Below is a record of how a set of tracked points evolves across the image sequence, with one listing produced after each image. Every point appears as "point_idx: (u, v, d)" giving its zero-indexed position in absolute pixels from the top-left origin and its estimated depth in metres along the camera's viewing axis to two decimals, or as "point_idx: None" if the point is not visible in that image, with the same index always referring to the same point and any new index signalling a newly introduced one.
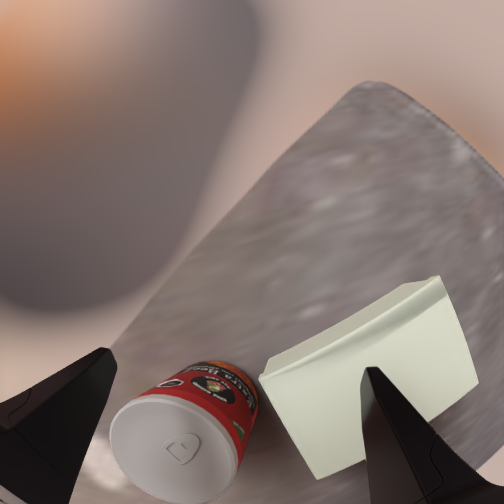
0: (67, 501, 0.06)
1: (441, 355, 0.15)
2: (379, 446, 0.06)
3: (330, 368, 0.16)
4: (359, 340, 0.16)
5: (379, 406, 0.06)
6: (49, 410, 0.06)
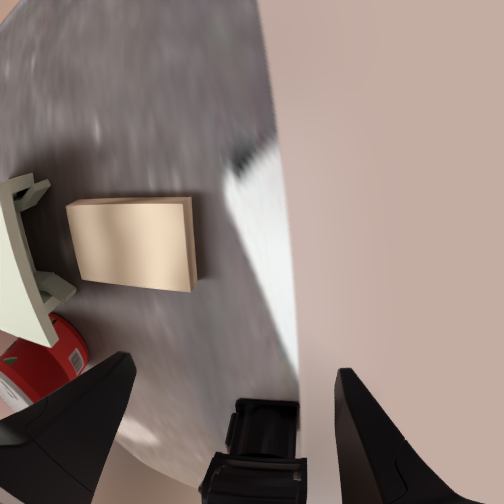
0: None
1: None
2: (348, 449, 0.06)
3: None
4: None
5: (347, 408, 0.07)
6: (69, 419, 0.06)
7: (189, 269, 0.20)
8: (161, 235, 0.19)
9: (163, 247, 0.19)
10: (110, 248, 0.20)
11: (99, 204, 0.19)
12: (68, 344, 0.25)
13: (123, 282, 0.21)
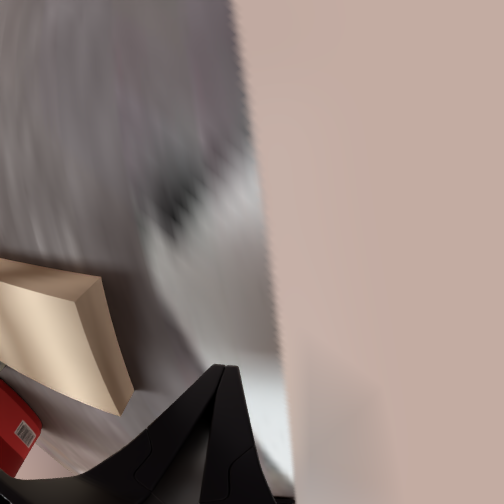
0: None
1: None
2: None
3: None
4: None
5: (214, 404, 0.07)
6: (180, 453, 0.06)
7: (112, 390, 0.10)
8: (59, 341, 0.09)
9: (66, 356, 0.09)
10: (8, 335, 0.10)
11: None
12: (12, 417, 0.15)
13: (36, 379, 0.11)
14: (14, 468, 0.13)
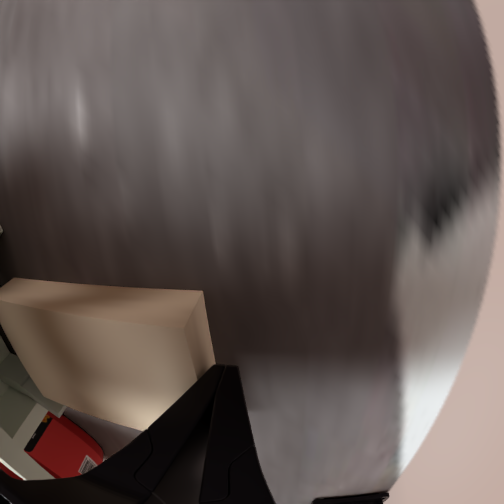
0: None
1: None
2: None
3: None
4: None
5: (213, 404, 0.07)
6: (180, 453, 0.06)
7: None
8: (149, 375, 0.09)
9: (156, 391, 0.09)
10: (66, 373, 0.10)
11: (29, 305, 0.08)
12: (74, 454, 0.14)
13: (101, 416, 0.11)
14: None
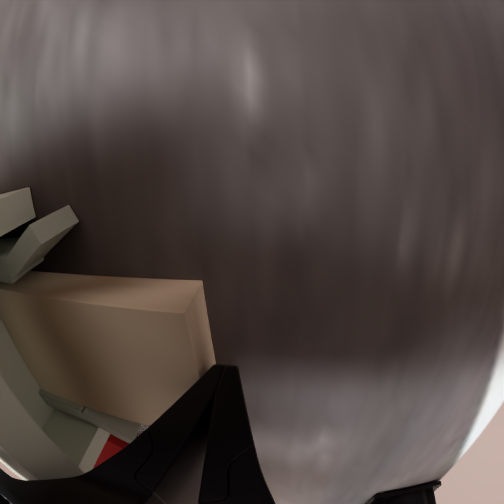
0: None
1: None
2: None
3: None
4: None
5: (213, 404, 0.07)
6: (181, 453, 0.06)
7: None
8: (149, 364, 0.08)
9: (155, 380, 0.09)
10: (64, 364, 0.10)
11: (28, 293, 0.08)
12: None
13: (99, 409, 0.11)
14: None
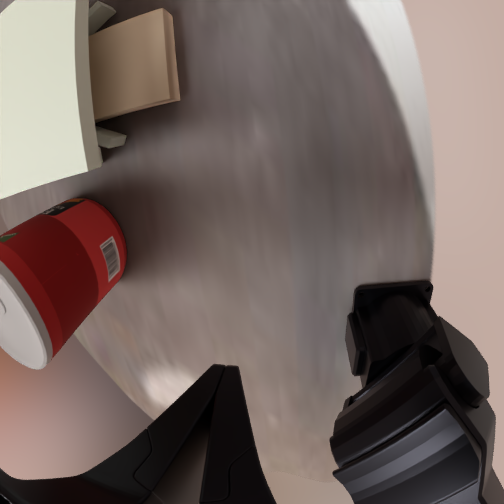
0: None
1: (25, 14, 0.08)
2: None
3: None
4: None
5: (214, 404, 0.07)
6: (180, 454, 0.06)
7: (169, 73, 0.14)
8: (139, 43, 0.13)
9: (140, 54, 0.14)
10: None
11: None
12: (101, 228, 0.18)
13: None
14: (85, 301, 0.16)
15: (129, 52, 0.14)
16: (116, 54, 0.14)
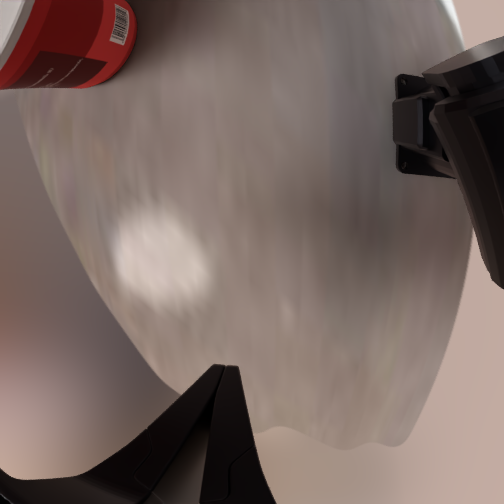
0: None
1: None
2: None
3: None
4: None
5: (214, 404, 0.07)
6: (180, 453, 0.06)
7: None
8: None
9: None
10: None
11: None
12: None
13: None
14: (81, 24, 0.09)
15: None
16: None
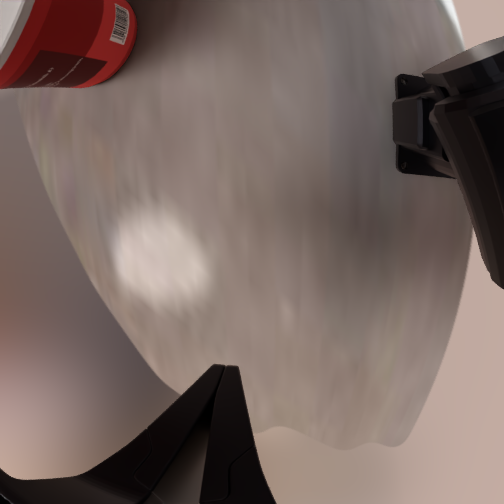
0: None
1: None
2: None
3: None
4: None
5: (214, 404, 0.07)
6: (180, 453, 0.06)
7: None
8: None
9: None
10: None
11: None
12: None
13: None
14: (82, 23, 0.09)
15: None
16: None
